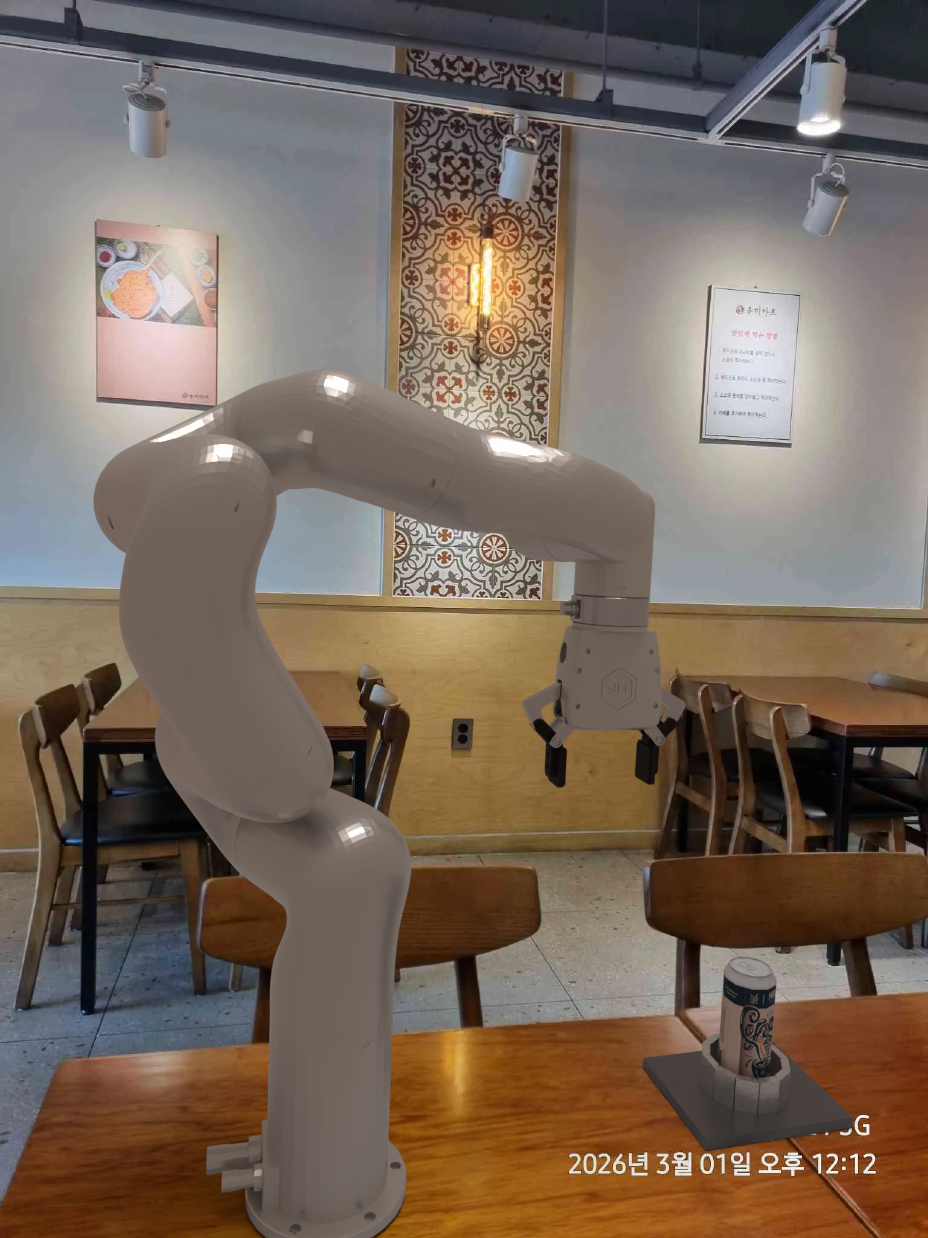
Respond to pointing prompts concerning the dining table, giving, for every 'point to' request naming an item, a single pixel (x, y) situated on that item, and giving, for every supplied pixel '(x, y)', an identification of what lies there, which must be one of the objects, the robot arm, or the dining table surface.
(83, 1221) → the dining table surface
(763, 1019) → the canned coffee drink
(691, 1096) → the can stand
